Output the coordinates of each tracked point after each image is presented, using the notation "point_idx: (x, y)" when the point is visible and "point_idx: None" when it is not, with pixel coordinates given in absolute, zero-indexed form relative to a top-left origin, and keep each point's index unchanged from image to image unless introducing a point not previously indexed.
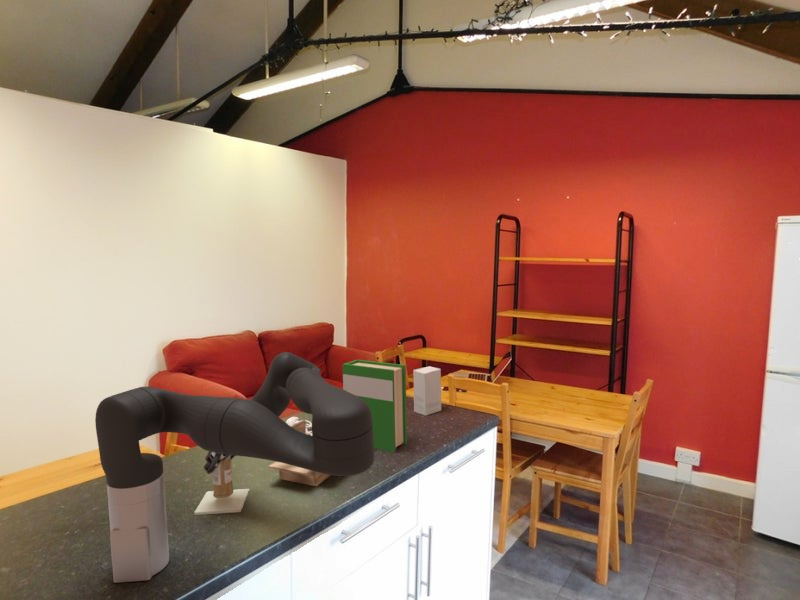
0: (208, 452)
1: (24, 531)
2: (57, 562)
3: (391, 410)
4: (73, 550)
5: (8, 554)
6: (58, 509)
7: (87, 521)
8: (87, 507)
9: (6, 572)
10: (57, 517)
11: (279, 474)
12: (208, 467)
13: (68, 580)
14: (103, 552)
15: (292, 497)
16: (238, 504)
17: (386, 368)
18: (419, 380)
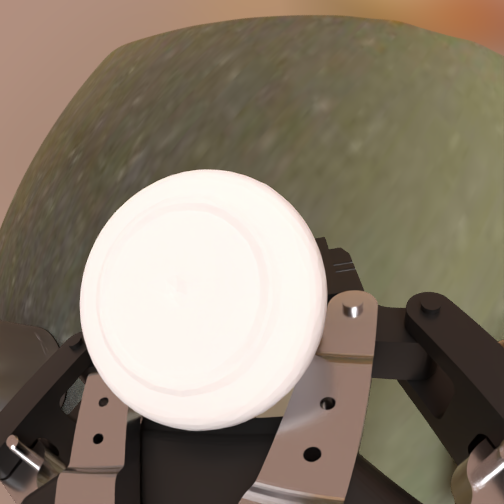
0: (8, 403)
1: (71, 111)
2: (23, 231)
3: None
4: (40, 216)
5: (33, 159)
6: (123, 75)
7: (100, 137)
8: (136, 91)
9: (11, 202)
10: (104, 97)
11: (500, 344)
12: None
13: (6, 292)
14: (42, 266)
15: (413, 482)
16: (287, 398)
17: None
18: None
